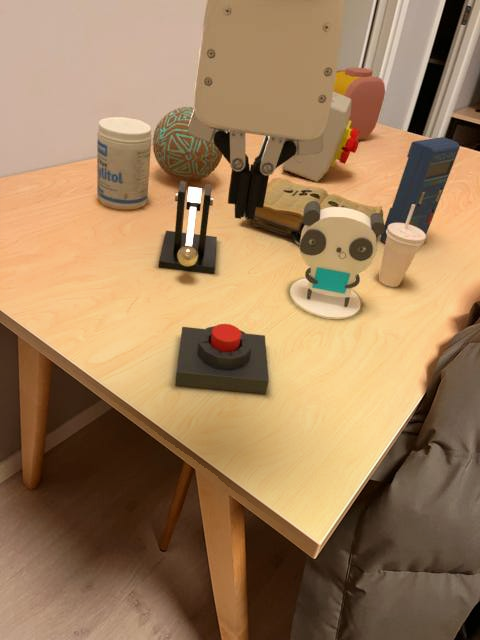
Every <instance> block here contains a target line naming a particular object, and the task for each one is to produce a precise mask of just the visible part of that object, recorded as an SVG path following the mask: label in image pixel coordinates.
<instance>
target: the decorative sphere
mask: <svg viewBox="0 0 480 640" xmlns="http://www.w3.org/2000/svg"><path fill="white" fill-rule="evenodd" d="M193 111H194V107H191V106H183V107H177V108H176V109H173V110H171V111H169V112H167V113H166V114H165V115H164V116H163V117H162V118H161V119H160V120H159V122H158V123H157V125H156V127H155V129H154V131H153V132H154V133H153V137H152V151H153V155H154V157H155V161H156V162H157V163H158V165H159V167H160V168H161V169H162V170H163V171H164V173H166V174H167V175H168V176H170V177H171V178H174V179H176V180H178V181H183V182H195V181H201V180H202V179H205V178H207V177H209V175H211V174H212V173H213V172H214V171H215V170H216V168H217V167H218V166H219V164H220V163H221V160H222V157H223V154H222V153H221V152H220V151H219V149H218V148H217V147H216V145H214V144H212V143H208V142H206V141H203V140H201V139H198V138H196V137H193V136H191V135H190V134H189V133H188V126H189V122H190V119H191V116H192V113H193Z"/></svg>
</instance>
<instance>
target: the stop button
mask: <svg viewBox="0 0 480 640" xmlns="http://www.w3.org/2000/svg"><path fill="white" fill-rule="evenodd" d="M214 326H215V327H214V328H213V329H212V335H211V345H212V347H213V348H215V349H217V350H219V351H221V352H233V351H236V350H237V349H238V348H239V345H240V340H241V331H242V330H241V329H239V328H238V327H237V326H235V325H234V324H230V323H219V324H216V325H214ZM240 330H241V331H240Z"/></svg>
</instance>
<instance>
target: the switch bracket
mask: <svg viewBox="0 0 480 640" xmlns="http://www.w3.org/2000/svg"><path fill="white" fill-rule="evenodd" d="M187 183H188V181H182V180H179V187H178V191H176V192H175V195H174V201H175V202H177V203H176V213H175V214H176V216H175V229H174V231H173V230H165V233H164V237H163V241H162V246H161V251H160V255H159V259H158V268H162V269H170V270H178V271H179V270H180V271H188V272H196V273H202V274H203V273H204V274H211V275H212V274H213V275H214V274H215V272H216V261H217V260H216V259H217V242H218V241H217V240H218V239H217V236H215V235H207V232H208V223H209V214H210V207H213V206H214V199H215V198H214V196H212V185H211V184H205V186H204V194H203V203H202V211H201V213H202V214H201V221H200V228H199V229H200V231H199V234H198V233H194V237H193V246H192V247H194V248H195V249H196V250H197V252H198V260H197V262H196V263H195V264H194V265H192V266H183V265H182V264H180V262H179V261H178V258H177V253H178V251H179V249H180V248H181V247H183V246H185V243H186V235H187V232H183V229H184V219H185V218H184V217H185V207H186V197H187V186H188V185H187Z"/></svg>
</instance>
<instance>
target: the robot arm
mask: <svg viewBox="0 0 480 640" xmlns="http://www.w3.org/2000/svg"><path fill="white" fill-rule="evenodd" d="M344 7H345V0H207V1H206V6H205V12H204V17H203V23H202V31H201V35H200V36H201V37H200V44H199V51H198V58H197V66H196V74H195V82H194V96H193V97H194V103H193V104H194V107H193V108H194V111H193V113H192V116H191V119H190V122H189V126H188V133H189V134H190V135H191V136H193V137H196V138H198V139H201V140H203V141H206V142H208V143H212V144H214V145H216V147H217V148H218V149H219V151H220V152H221V153H222V157H224V158H225V160H226V161H227V162H228V163H229V166H230V168H231V173H230V180H229V189H228V195H227V204H228V205H234V219H239V220H241V219H242V218H245V219H247V220H248V221H254V220H255V219H254V215H255V210H256V207H259V208H263V206H264V201H265V195H266V190H267V184H268V183H269V178H270V176H271V175H273V174H274V173H275V170H276V169H277V168H279V167H280V166H281V165H284V162H286V161H287V160H288V159H290V158H291V157H293V156H294V155H299V156H300V155H310V154H318V153H320V152H321V151H322V149H323V131H324V129H325V126H326V123H327V120H328V116H329V112H330V107H331V102H332V96H333V90H334V84H335V78H336V71H338V65H339V64H338V63H339V56H340V49H341V43H342V40H341V39H342V32H343V24H344ZM246 134H250V135H257V136H263V137H264V138H263V140H262V143H261V147H260V150H259V153H258V156H256V157H255V158H254V161H253V163H251V164H250V161H249V156H248V155H247V153H246ZM244 212H245V216H244Z"/></svg>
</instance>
